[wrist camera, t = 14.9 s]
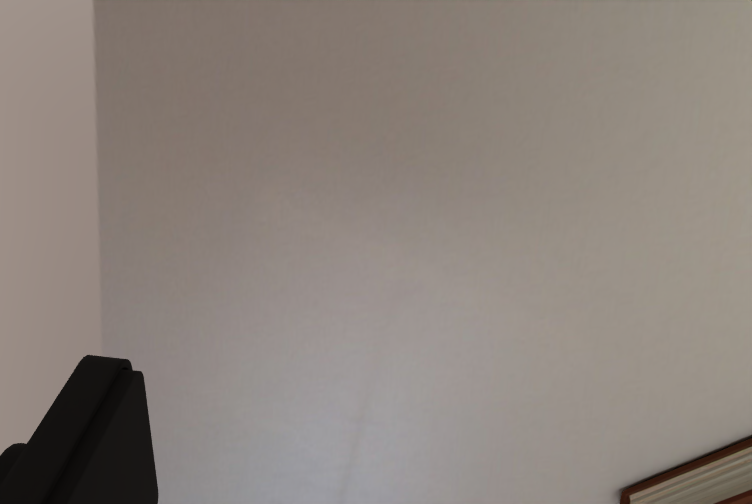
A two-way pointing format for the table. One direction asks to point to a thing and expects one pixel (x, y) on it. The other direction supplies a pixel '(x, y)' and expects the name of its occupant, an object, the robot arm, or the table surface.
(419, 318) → the table surface
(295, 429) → the table surface
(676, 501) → the book
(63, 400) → the robot arm
